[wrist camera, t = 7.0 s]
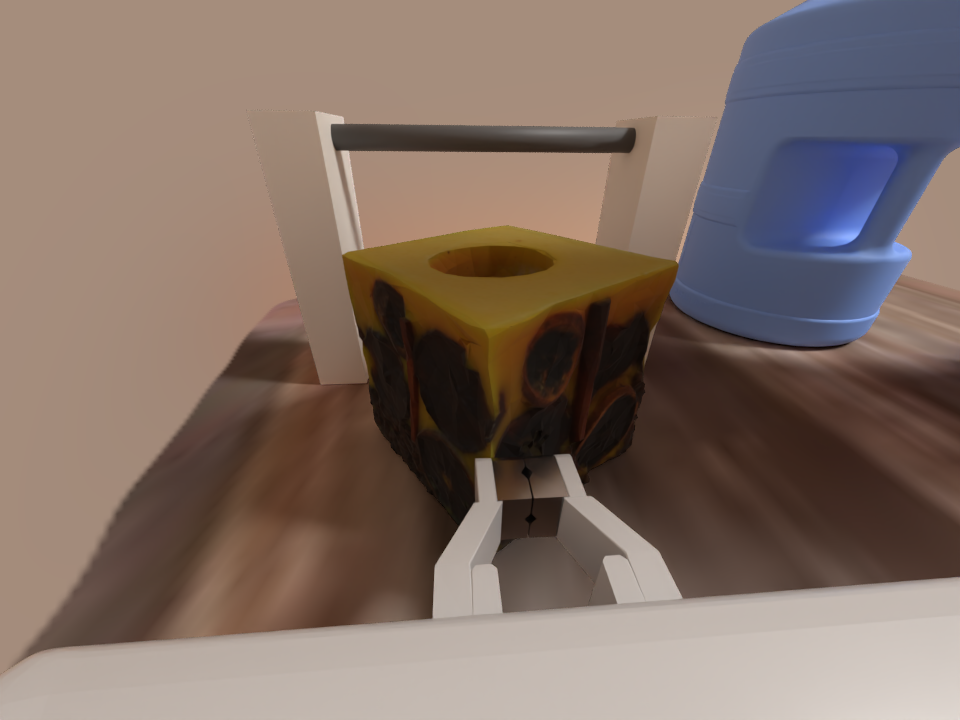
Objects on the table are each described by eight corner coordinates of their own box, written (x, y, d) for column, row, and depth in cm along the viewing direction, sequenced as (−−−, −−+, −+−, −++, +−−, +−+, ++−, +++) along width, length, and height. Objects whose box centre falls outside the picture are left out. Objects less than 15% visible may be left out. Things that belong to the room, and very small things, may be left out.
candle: (632, 449, 19) (692, 262, 14) (487, 571, 14) (495, 338, 8) (503, 368, 26) (511, 221, 21) (371, 427, 20) (336, 248, 15)
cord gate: (614, 340, 30) (665, 121, 22) (641, 374, 25) (717, 117, 17) (340, 347, 28) (288, 116, 20) (320, 384, 24) (246, 109, 16)
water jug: (636, 287, 40) (729, -87, 26) (758, 281, 43) (907, -67, 28) (746, 359, 27) (1062, -323, 13) (914, 344, 30) (1345, -248, 15)
